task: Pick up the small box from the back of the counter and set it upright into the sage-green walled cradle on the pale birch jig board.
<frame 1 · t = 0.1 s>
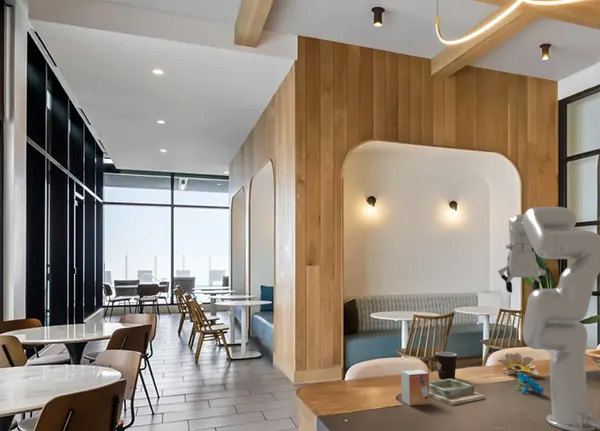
hand: (522, 292, 167), 37 cm above the counter, tool pointing down, fingers open, 9 cm apart
gear: (529, 393, 163), on the counter
jig: (449, 394, 160), on the counter
decorative flower: (517, 376, 187), on the counter
small box: (415, 403, 152), on the counter
coffee mug: (446, 377, 184), on the counter
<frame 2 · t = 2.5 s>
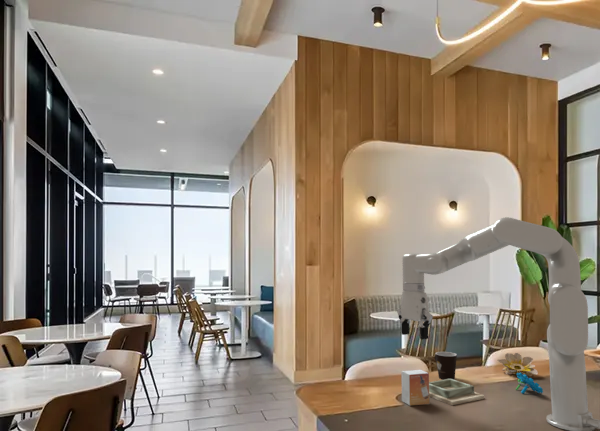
hand: (414, 336, 154), 23 cm above the counter, tool pointing down, fingers open, 9 cm apart
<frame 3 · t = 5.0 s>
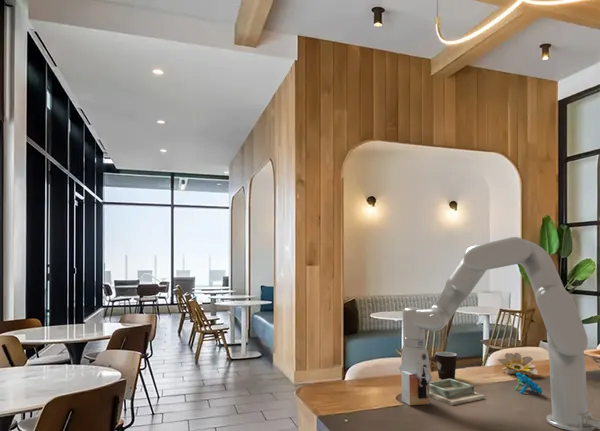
hand: (415, 394, 152), 3 cm above the counter, tool pointing down, fingers closed on small box, 6 cm apart
small box: (415, 403, 152), on the counter, touching gripper
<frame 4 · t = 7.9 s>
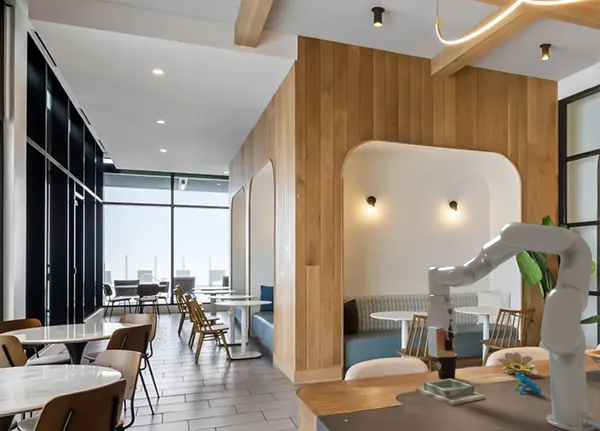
hand: (441, 348, 160), 17 cm above the counter, tool pointing down, fingers closed on small box, 6 cm apart
small box: (442, 356, 160), point 14 cm above the counter, touching gripper
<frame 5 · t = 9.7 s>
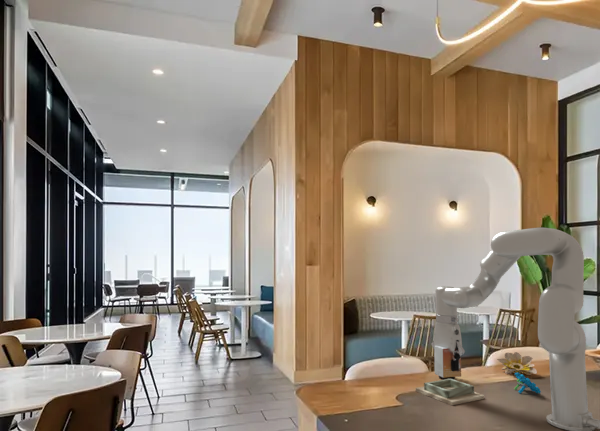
hand: (447, 368, 161), 10 cm above the counter, tool pointing down, fingers closed on small box, 6 cm apart
small box: (448, 376, 161), point 7 cm above the counter, touching gripper
when the fingers open (5 cm above the counter, at t = 11.0 s): small box drops 1 cm, resting on jig.
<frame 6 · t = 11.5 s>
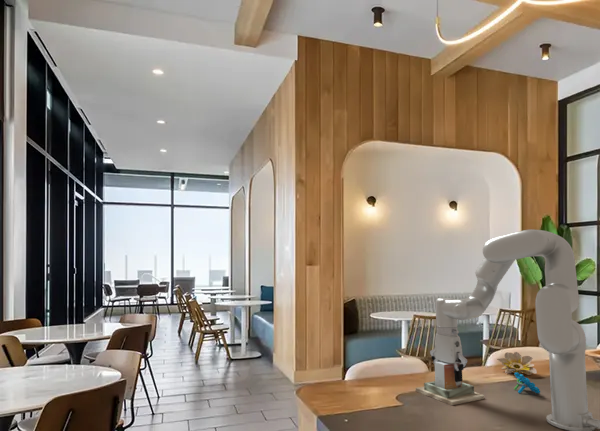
hand: (448, 378, 161), 6 cm above the counter, tool pointing down, fingers open, 9 cm apart
small box: (448, 391, 160), point 1 cm above the counter, touching jig
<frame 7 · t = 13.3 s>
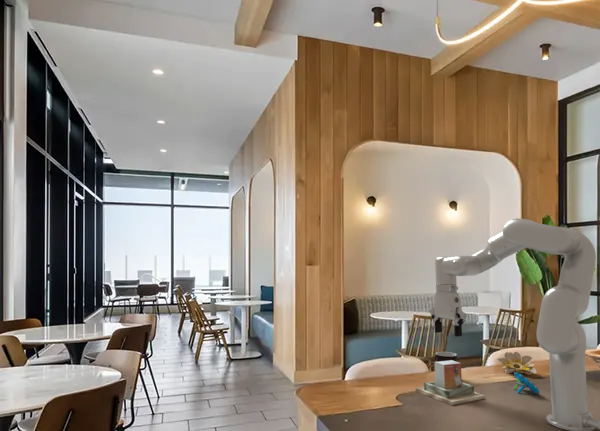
hand: (448, 334, 164), 22 cm above the counter, tool pointing down, fingers open, 9 cm apart
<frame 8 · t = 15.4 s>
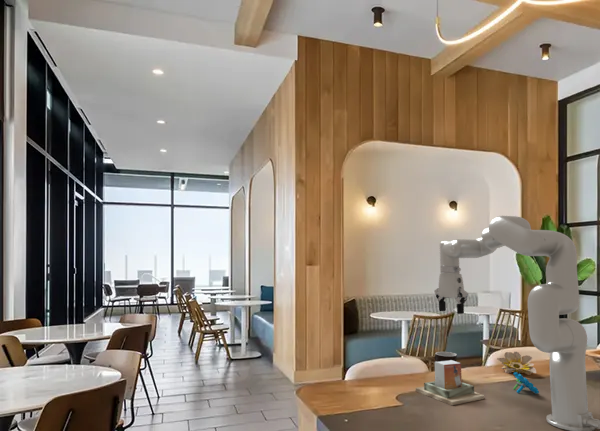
hand: (451, 312, 178), 28 cm above the counter, tool pointing down, fingers open, 9 cm apart
at the end: small box 0.1 cm off-centre on the jig, point 1.0 cm above the jig's base; small box tilted 0°; the gripper is holding nothing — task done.
